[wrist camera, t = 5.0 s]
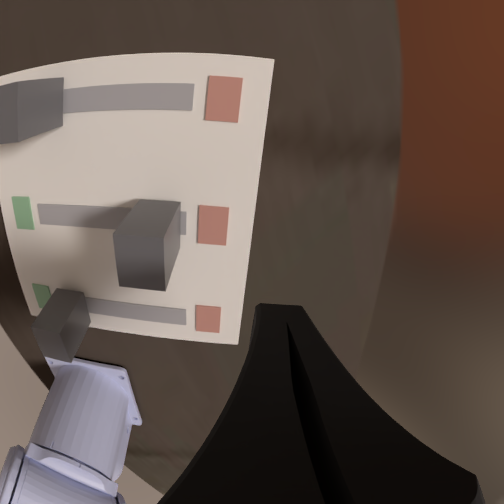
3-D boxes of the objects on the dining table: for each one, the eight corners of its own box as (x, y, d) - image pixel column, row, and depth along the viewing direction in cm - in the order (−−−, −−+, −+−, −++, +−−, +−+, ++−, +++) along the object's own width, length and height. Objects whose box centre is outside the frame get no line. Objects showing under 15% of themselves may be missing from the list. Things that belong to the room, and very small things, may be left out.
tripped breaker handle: (180, 247, 15) (165, 291, 12) (141, 244, 15) (119, 286, 12) (180, 201, 14) (163, 237, 11) (139, 199, 14) (112, 234, 11)
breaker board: (237, 328, 20) (237, 395, 16) (40, 302, 19) (7, 352, 15) (271, 62, 13) (286, 48, 8) (7, 76, 11) (-57, 88, 7)
